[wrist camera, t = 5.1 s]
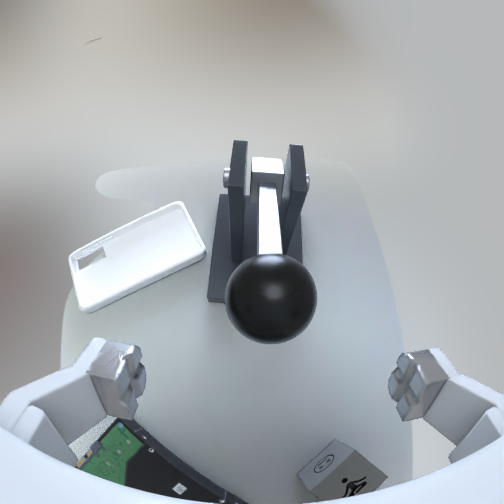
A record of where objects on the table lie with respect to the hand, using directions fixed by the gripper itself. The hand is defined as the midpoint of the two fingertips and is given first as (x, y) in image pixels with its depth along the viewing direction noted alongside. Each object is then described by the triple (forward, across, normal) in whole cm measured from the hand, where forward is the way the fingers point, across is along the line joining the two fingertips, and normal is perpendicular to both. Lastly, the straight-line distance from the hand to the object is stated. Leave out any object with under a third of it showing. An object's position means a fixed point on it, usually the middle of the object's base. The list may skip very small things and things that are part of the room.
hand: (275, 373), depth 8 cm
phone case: (+20, +13, +5) cm, 25 cm away
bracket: (+22, 0, +3) cm, 22 cm away
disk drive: (+3, +8, +22) cm, 24 cm away
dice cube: (+6, -8, +20) cm, 22 cm away
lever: (+9, 0, -1) cm, 9 cm away
